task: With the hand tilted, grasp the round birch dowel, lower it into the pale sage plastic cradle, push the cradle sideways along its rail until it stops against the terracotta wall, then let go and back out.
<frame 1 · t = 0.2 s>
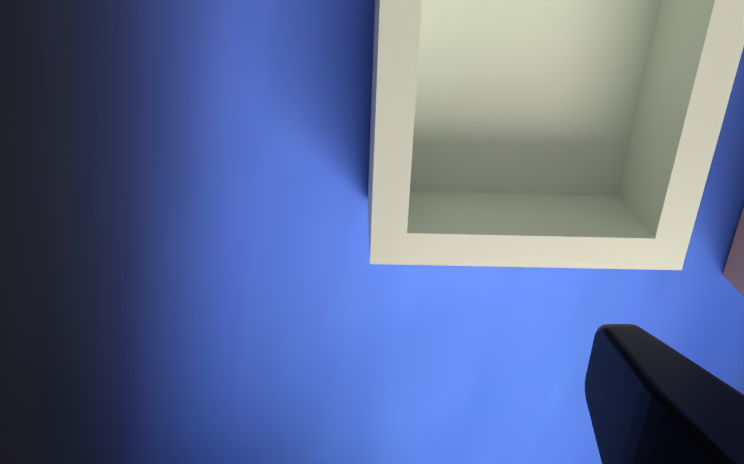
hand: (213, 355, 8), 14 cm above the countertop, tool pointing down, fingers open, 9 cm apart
cradle: (532, 93, 19), point 2 cm above the countertop, slide at 0.0 cm
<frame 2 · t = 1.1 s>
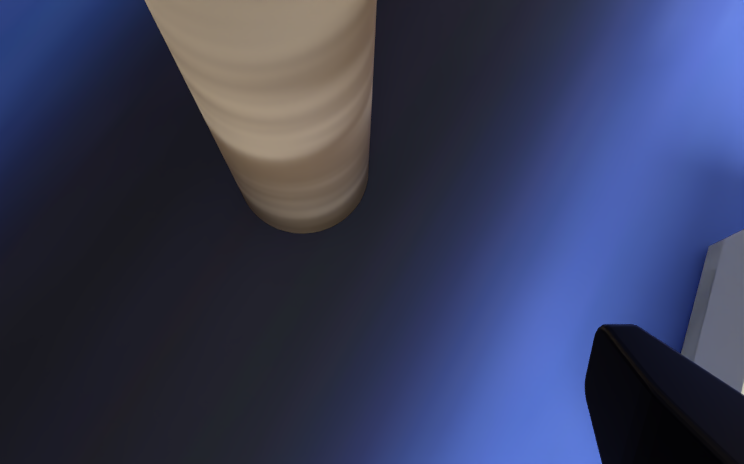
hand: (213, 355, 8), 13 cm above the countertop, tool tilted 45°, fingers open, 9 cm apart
dowel: (303, 171, 23), on the countertop
when the fingers open (9 cm above the countertop, at t = 10.8 s): dowel stays where it is, resting on cradle.
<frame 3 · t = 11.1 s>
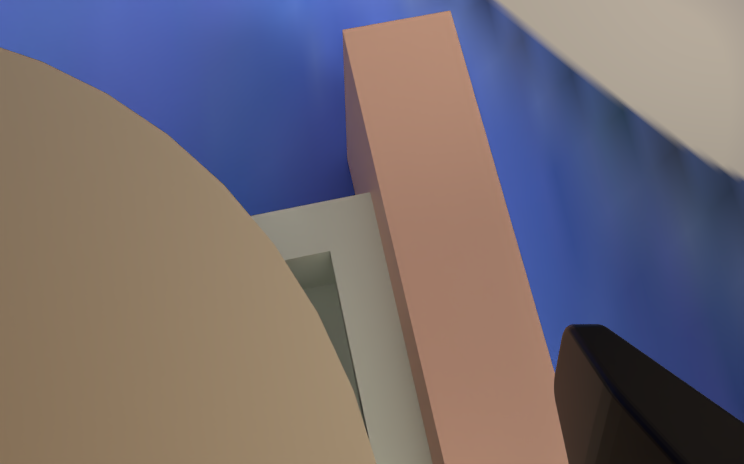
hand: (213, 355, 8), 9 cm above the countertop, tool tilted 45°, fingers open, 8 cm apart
dowel: (257, 454, 14), point 1 cm above the countertop, touching cradle
backstop wall: (447, 416, 16), on the countertop
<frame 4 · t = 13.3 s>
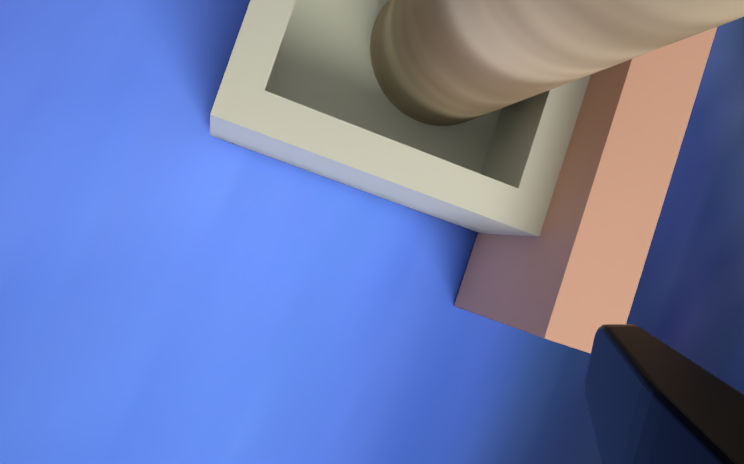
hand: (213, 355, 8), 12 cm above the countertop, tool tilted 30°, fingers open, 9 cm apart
dowel: (441, 52, 20), point 1 cm above the countertop, touching cradle
backstop wall: (545, 115, 22), on the countertop
cradle: (416, 33, 19), point 2 cm above the countertop, slide at 4.0 cm, touching dowel
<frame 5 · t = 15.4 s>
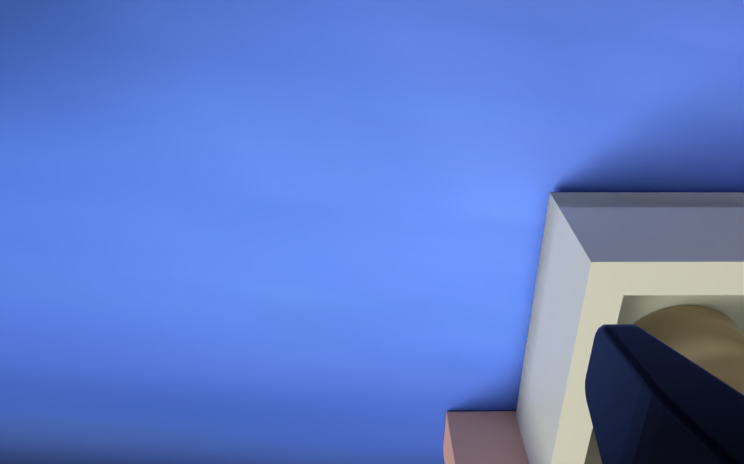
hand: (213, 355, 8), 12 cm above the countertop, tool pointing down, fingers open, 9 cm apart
dowel: (673, 359, 22), point 1 cm above the countertop, touching cradle
backstop wall: (629, 430, 25), on the countertop
cradle: (691, 352, 20), point 2 cm above the countertop, slide at 4.0 cm, touching dowel
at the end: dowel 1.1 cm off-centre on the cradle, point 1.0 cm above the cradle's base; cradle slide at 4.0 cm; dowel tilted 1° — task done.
